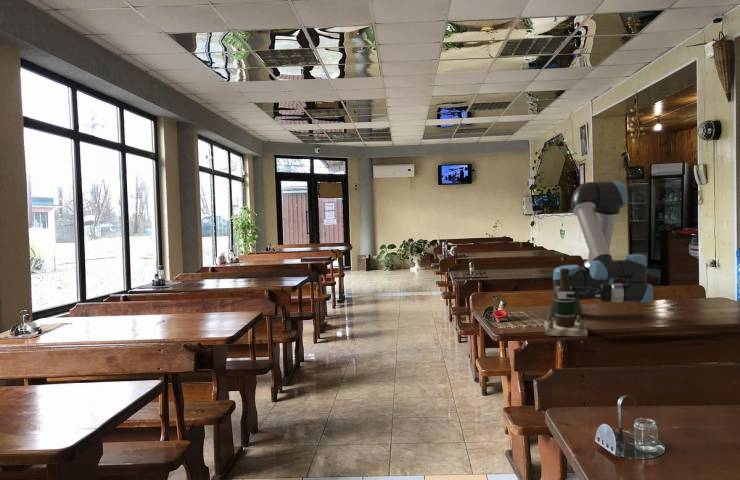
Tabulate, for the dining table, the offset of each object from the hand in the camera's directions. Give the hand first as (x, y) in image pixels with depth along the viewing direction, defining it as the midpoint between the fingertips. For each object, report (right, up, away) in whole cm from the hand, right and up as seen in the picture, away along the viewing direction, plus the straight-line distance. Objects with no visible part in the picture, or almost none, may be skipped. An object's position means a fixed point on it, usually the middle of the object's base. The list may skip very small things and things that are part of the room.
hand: (556, 292), depth 244 cm
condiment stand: (+4, -16, 0) cm, 17 cm away
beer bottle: (+4, -14, 0) cm, 15 cm away
